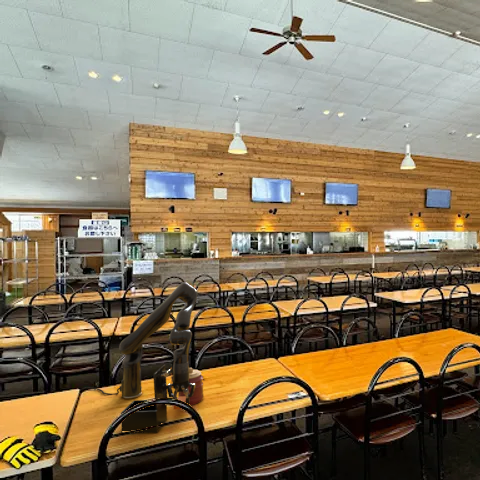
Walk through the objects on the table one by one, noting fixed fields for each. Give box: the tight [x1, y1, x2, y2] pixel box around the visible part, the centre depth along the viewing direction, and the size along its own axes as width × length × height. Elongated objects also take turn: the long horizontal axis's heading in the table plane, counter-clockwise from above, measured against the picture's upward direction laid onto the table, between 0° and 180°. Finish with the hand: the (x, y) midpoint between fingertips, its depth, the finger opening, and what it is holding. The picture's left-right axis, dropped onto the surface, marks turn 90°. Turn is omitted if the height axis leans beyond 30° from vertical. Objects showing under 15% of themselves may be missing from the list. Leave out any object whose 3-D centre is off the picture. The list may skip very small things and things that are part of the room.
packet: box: [172, 396, 186, 410], centre depth 186 cm, size 8×5×3 cm, turn 2°
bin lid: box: [152, 364, 173, 410], centre depth 176 cm, size 16×13×5 cm
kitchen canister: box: [177, 367, 204, 406], centre depth 203 cm, size 13×13×18 cm
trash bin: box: [120, 399, 168, 435], centre depth 176 cm, size 16×13×10 cm
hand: (181, 404), depth 186 cm, fingers closed on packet, 5 cm apart
